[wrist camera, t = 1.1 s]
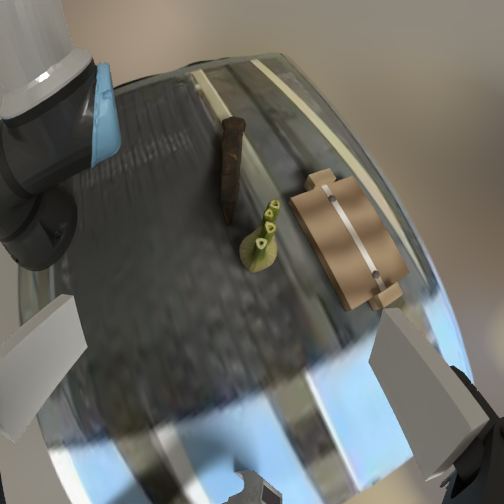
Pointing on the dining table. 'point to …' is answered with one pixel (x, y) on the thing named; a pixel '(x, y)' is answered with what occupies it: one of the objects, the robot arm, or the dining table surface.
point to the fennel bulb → (261, 241)
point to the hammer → (255, 490)
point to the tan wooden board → (349, 240)
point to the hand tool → (231, 164)
